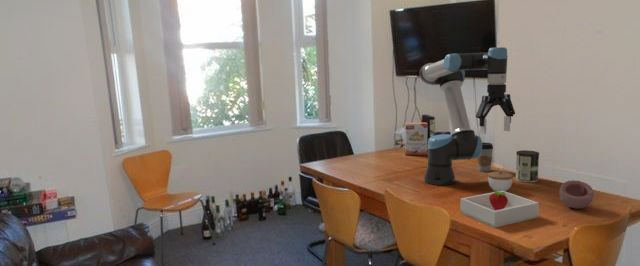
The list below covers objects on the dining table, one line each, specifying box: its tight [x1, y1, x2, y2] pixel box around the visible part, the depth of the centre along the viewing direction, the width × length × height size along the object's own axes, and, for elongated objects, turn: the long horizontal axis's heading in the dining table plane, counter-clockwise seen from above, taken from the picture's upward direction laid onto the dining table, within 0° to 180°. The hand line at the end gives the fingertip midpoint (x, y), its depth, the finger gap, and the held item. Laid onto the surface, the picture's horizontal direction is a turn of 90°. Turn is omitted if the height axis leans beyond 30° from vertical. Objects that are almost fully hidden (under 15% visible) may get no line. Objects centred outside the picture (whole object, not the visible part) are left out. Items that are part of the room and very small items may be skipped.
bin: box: [459, 191, 540, 228], centre depth 171 cm, size 18×22×6 cm
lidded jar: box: [487, 170, 514, 192], centre depth 202 cm, size 11×11×9 cm
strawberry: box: [489, 188, 508, 211], centre depth 171 cm, size 6×8×10 cm
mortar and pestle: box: [558, 179, 595, 210], centre depth 176 cm, size 12×12×11 cm
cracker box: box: [404, 122, 429, 156], centre depth 283 cm, size 14×6×21 cm, turn 81°
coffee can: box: [515, 149, 540, 183], centre depth 218 cm, size 10×10×14 cm
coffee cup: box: [476, 142, 494, 173], centre depth 238 cm, size 8×8×15 cm
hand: (495, 132), depth 192 cm, fingers open, 13 cm apart
